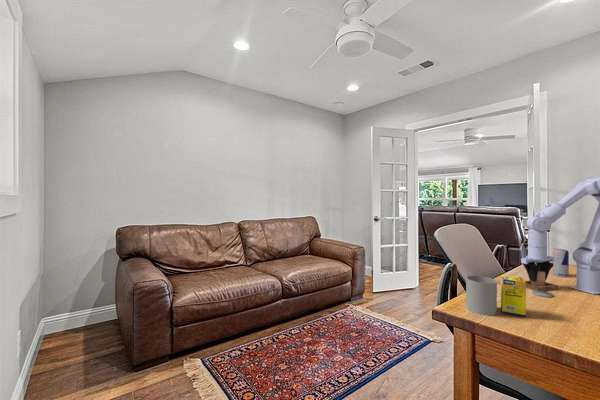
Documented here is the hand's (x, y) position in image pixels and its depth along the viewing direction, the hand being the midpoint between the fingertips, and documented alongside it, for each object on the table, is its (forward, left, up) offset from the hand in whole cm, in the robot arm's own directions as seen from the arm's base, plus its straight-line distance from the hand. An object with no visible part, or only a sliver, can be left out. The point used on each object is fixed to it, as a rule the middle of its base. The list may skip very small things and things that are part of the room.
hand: (537, 280), depth 114 cm
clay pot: (0, 0, -2) cm, 2 cm away
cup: (+41, +13, -3) cm, 43 cm away
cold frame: (0, 0, -3) cm, 3 cm away
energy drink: (-27, -10, -3) cm, 29 cm away
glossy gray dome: (+7, +7, -3) cm, 10 cm away
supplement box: (+33, +17, -3) cm, 37 cm away
